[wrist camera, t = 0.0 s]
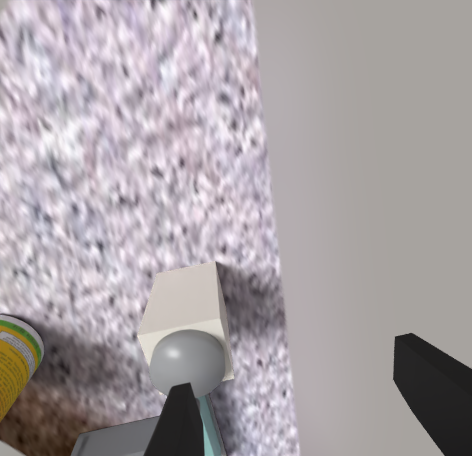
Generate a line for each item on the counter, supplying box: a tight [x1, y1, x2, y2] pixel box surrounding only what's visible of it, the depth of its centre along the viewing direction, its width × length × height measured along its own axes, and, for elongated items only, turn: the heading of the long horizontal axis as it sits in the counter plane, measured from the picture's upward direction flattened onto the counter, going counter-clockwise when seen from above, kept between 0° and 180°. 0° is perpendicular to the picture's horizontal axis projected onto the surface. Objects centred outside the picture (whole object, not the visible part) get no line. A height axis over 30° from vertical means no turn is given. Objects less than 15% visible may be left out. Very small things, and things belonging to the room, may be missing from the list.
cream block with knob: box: [137, 261, 234, 398], centre depth 17 cm, size 4×4×7 cm
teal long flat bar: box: [195, 395, 221, 456], centre depth 21 cm, size 13×1×3 cm, turn 11°
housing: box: [71, 393, 227, 456], centre depth 23 cm, size 18×11×2 cm, turn 11°
